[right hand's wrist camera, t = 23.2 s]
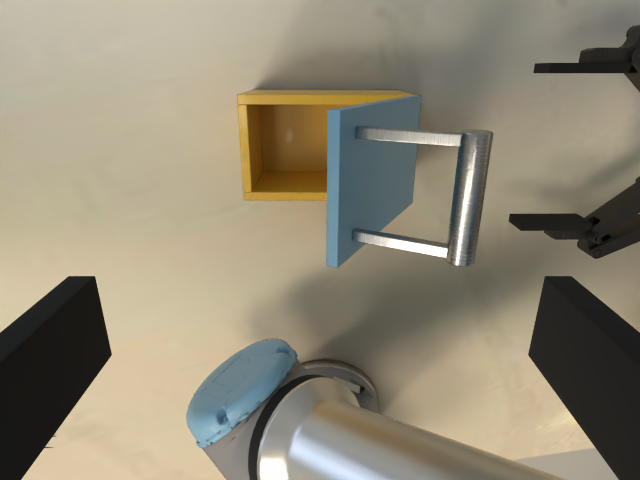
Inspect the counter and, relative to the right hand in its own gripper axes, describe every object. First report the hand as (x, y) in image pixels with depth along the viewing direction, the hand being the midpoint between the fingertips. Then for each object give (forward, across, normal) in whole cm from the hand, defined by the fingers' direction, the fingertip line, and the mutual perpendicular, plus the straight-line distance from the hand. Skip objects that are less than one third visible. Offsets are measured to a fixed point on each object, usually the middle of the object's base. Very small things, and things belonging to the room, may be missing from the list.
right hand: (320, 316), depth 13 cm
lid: (+21, -4, 0) cm, 21 cm away
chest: (+38, -1, 0) cm, 38 cm away
